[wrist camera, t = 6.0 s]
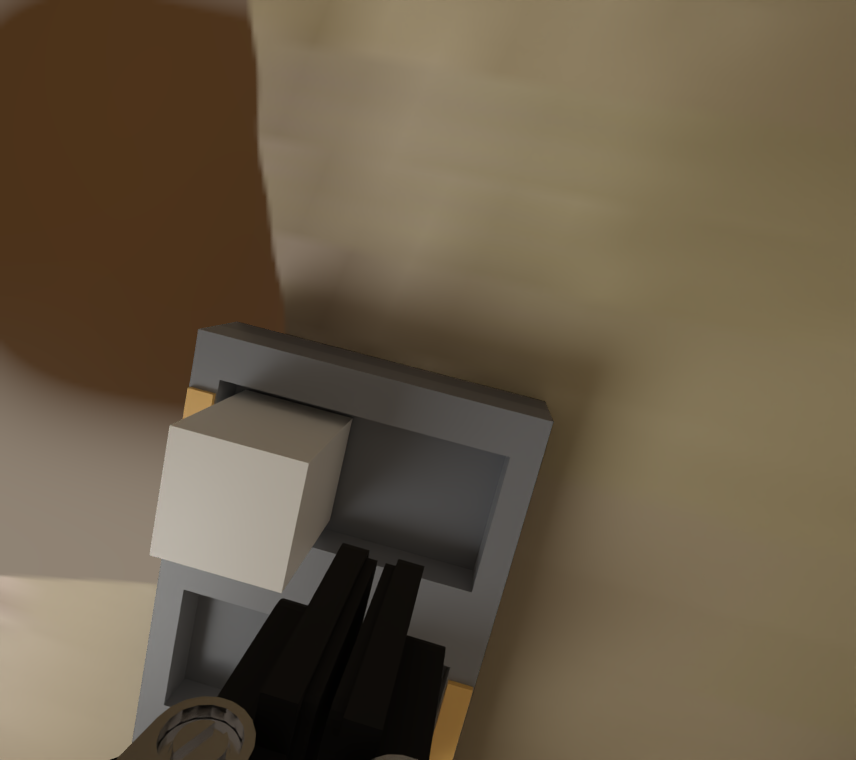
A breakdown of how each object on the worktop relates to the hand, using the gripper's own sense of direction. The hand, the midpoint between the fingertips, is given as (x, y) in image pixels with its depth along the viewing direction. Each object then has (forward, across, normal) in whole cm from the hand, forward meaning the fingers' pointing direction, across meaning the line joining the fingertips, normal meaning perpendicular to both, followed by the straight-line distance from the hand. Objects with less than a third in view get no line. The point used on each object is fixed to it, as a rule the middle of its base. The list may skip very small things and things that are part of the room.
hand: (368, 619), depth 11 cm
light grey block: (+9, +5, +2) cm, 11 cm away
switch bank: (+11, +2, +10) cm, 15 cm away
